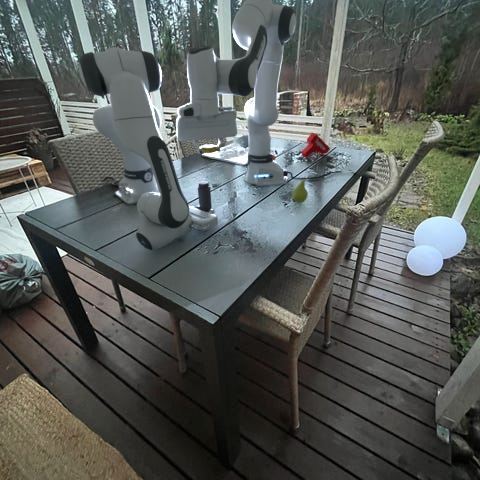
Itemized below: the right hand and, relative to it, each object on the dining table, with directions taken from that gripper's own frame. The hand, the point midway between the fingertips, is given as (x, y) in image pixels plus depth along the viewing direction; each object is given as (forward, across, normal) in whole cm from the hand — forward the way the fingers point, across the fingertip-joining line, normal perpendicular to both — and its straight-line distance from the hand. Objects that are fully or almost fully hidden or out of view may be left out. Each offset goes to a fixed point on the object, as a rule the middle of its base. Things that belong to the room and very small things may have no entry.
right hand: (209, 152), depth 94 cm
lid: (-2, 0, 0) cm, 2 cm away
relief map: (+27, -33, -84) cm, 94 cm away
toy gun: (+28, -84, -66) cm, 110 cm away
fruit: (+27, -40, -4) cm, 48 cm away
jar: (+26, +3, +1) cm, 27 cm away
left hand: (+21, +3, 0) cm, 22 cm away
